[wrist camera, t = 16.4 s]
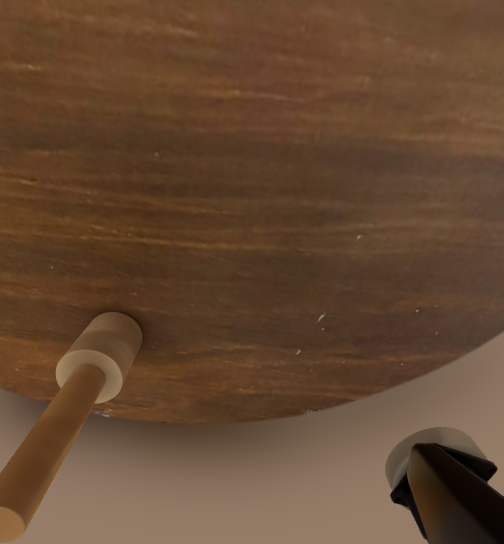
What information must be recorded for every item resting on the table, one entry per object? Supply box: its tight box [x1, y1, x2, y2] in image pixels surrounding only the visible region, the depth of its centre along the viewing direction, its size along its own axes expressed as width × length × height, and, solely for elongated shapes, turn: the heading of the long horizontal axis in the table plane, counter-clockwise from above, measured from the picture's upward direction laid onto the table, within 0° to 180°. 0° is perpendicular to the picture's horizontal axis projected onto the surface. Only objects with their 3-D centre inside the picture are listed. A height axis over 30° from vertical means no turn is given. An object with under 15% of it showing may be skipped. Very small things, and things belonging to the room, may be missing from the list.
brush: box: [0, 312, 143, 542], centre depth 16 cm, size 3×3×11 cm
